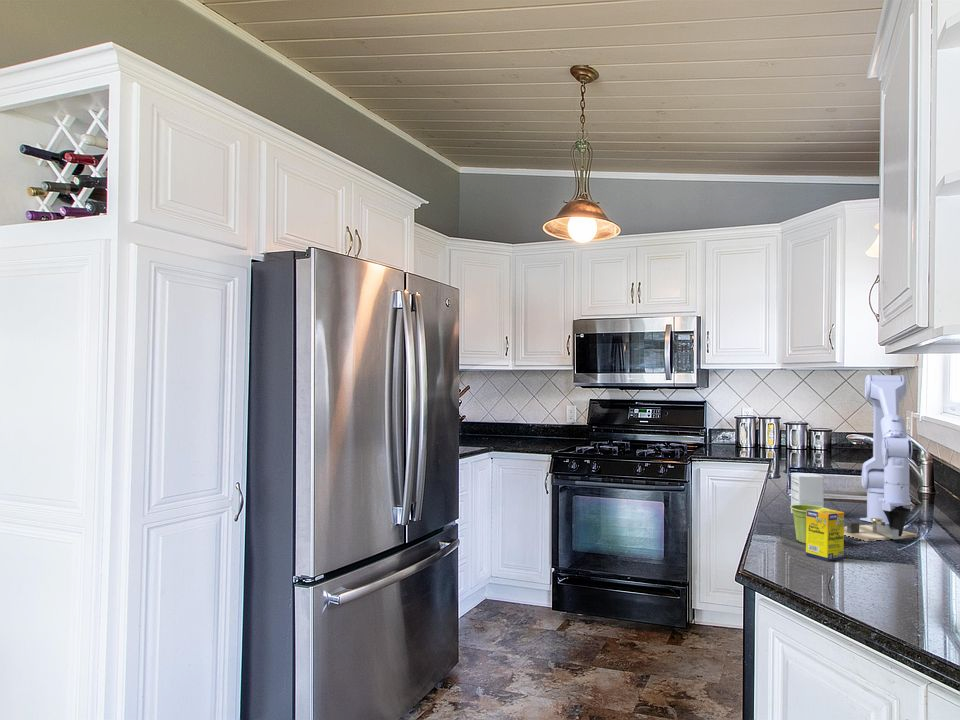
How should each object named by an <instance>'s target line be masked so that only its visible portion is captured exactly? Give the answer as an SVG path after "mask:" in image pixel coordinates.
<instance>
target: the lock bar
mask: <svg viewBox="0 0 960 720" xmlns="http://www.w3.org/2000/svg"><path fill="white" fill-rule="evenodd" d="M871 521H873V522H876V532H877V533H879V534H882V535H884V536H886V537H889V538H891V539H893V540H900V539H899V530H898V529H896V528H893V527H890V525H885V522H883V521H882V519H880V518H871Z"/></svg>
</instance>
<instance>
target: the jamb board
mask: <svg viewBox="0 0 960 720" xmlns="http://www.w3.org/2000/svg"><path fill="white" fill-rule="evenodd" d="M844 535H846V536H845V537H848V536H850V537H849V538H852V537H854V538H853V539H855V538H858V539H857V540H859V539H861V540H860V541H863V540H864V542H867V541H872V542H877V541H876V540H882V541H891V540H890V539H891V538H889V537H886V536H884V535H882V534H879V533H877V532H876V522H873V523H872V524H861V525H860V523H859V522H857V521H853V522H850V521H849V522H847V523H846V526H844ZM913 537H914V538H918V533H914V532H910V531H905V530H903V532H902V536H899V539H898V540H903V539H912V538H913Z"/></svg>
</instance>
